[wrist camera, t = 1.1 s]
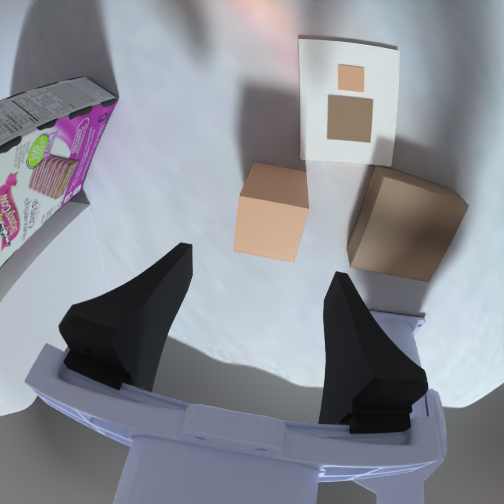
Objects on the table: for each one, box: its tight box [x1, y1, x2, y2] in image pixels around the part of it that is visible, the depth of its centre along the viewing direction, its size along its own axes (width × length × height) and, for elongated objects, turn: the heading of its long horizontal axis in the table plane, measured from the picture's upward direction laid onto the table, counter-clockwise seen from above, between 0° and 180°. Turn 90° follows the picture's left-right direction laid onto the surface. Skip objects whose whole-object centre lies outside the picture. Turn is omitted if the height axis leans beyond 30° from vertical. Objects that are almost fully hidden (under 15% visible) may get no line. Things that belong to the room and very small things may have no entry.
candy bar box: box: [0, 76, 118, 269], centre depth 14 cm, size 11×5×16 cm, turn 143°
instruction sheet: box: [298, 39, 399, 167], centre depth 17 cm, size 9×7×1 cm
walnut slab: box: [347, 165, 469, 282], centre depth 21 cm, size 8×8×3 cm
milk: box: [0, 201, 110, 416], centre depth 19 cm, size 12×12×26 cm
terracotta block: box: [233, 162, 309, 263], centre depth 19 cm, size 4×4×6 cm
